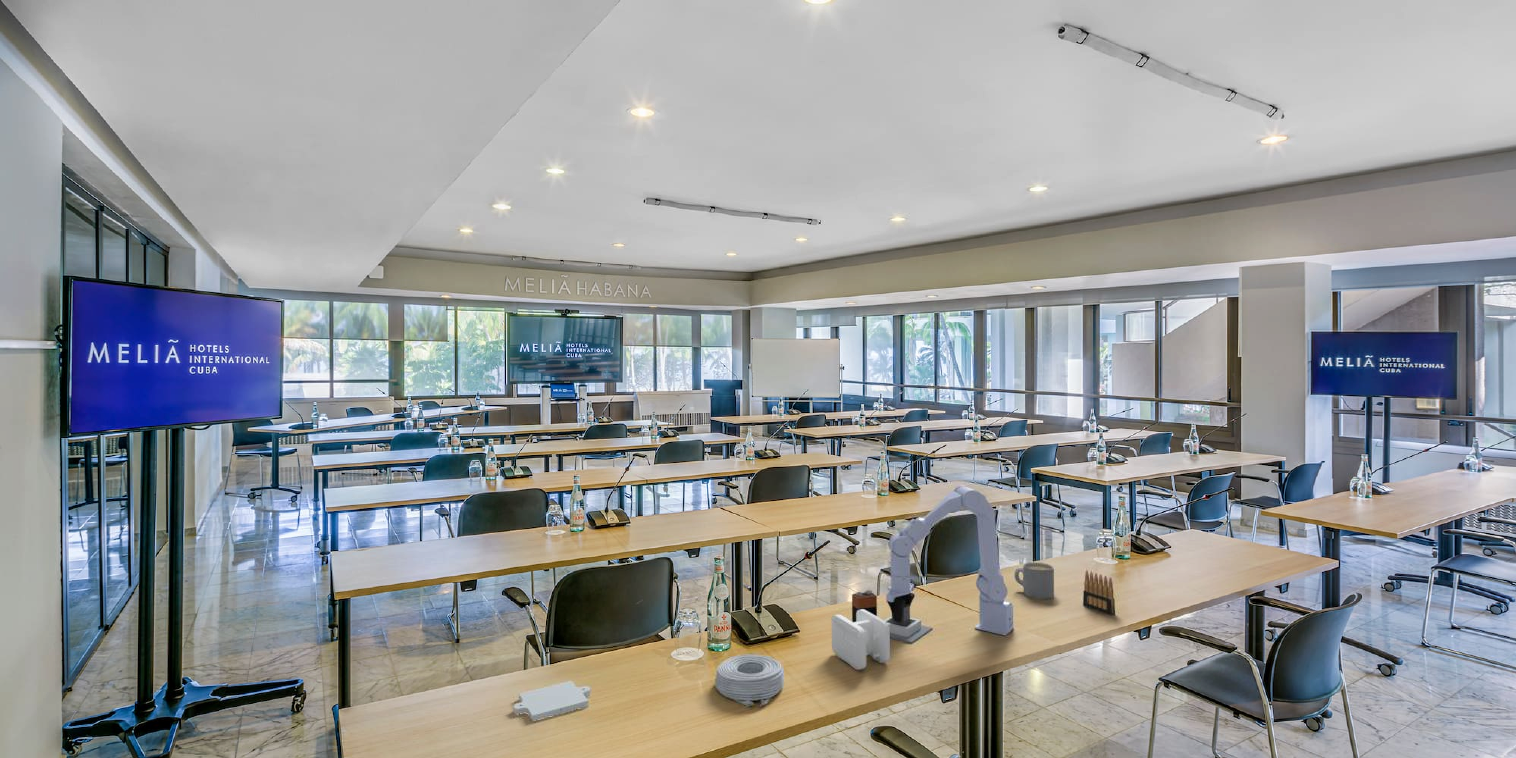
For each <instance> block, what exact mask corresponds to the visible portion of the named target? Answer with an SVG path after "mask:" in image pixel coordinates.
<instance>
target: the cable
mask: <svg viewBox="0 0 1516 758" xmlns="http://www.w3.org/2000/svg"><path fill="white" fill-rule="evenodd" d="M784 684H785V669H784V666H783V665H782V664H781V662H779V661H778V660H776V659H774V658H773V657H770V656H768V655H763V654H755V653H754V654H752V653H749V654H748V653H747V654H739V655H735V656H731V657H729V658H726V659H725V660H724V661H722V662H721V663H720V664H719V665H718V667H717V670H716V675H715V678H714V685H715V688H716V689H717V690H718V692H719V693H720V694H721V695H722V696H723V697H725V698H729V699H732V700H734V701H736V702H737V703H740V704H742V705H744V706H746V707H749V708H750V707H751V706H754V705H755V703H754V701H760V704H759V707H760V708H762V707H763V705H764V706H765V705H766V704H768V703H769V701H770V700H771V699H772V698H773V697H774V696H775V695H777V694H778V693H779V692H780V691H781V690H782V688H783V686H784Z"/></svg>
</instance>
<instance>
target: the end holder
mask: <svg viewBox="0 0 1516 758" xmlns="http://www.w3.org/2000/svg"><path fill="white" fill-rule="evenodd" d="M884 620H885V621H886V622H887V624H888V625H889V629H890V639H893V640H896V641H900V642H903V643H907V644H911V645H912V644H913V643H915V642H916V641H918V640H919V639H921V638H922V637H924V636H925V635H927V634H928V633H929V632H931V631H932V630H933V627H930V626H927V625H923V624H922V619H918V618H913V617H910V625H908V626H907V627H903V626H899V625H895V624H892V615H890V616H889V617H887V618H886V619H884ZM926 633H927V634H926Z"/></svg>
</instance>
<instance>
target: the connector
mask: <svg viewBox="0 0 1516 758" xmlns="http://www.w3.org/2000/svg"><path fill="white" fill-rule="evenodd" d="M891 616H892V615H891ZM910 618H911V606H910V605H909V604H904V606H903V611H902V619H901V622H896V621H894V619H893V616H892V624H895V625H899V626H903V627H907V626H908V625H910Z"/></svg>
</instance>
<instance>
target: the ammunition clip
mask: <svg viewBox="0 0 1516 758" xmlns="http://www.w3.org/2000/svg"><path fill="white" fill-rule="evenodd" d="M1084 574H1085V575H1084V582H1083V583H1084V585H1083V586H1084V590H1083V592H1082V594H1083V595H1082V597H1083V599H1082V601H1083V602H1082V606H1084V607H1086V608H1089V609H1092V610H1094V611H1097V612H1100V613H1102V614H1106V615H1109V616H1115V615H1116V606H1115V605H1116V604H1115V600H1116V599H1115V598H1114V587H1113V586H1114V584H1113V580H1112V577H1111V576H1109V578H1107V575H1104V577H1103V576H1102V574H1100V575H1099V577H1098V573H1097V572H1095V573H1093V571H1090V574H1089V571H1088V570H1085V573H1084Z"/></svg>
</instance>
